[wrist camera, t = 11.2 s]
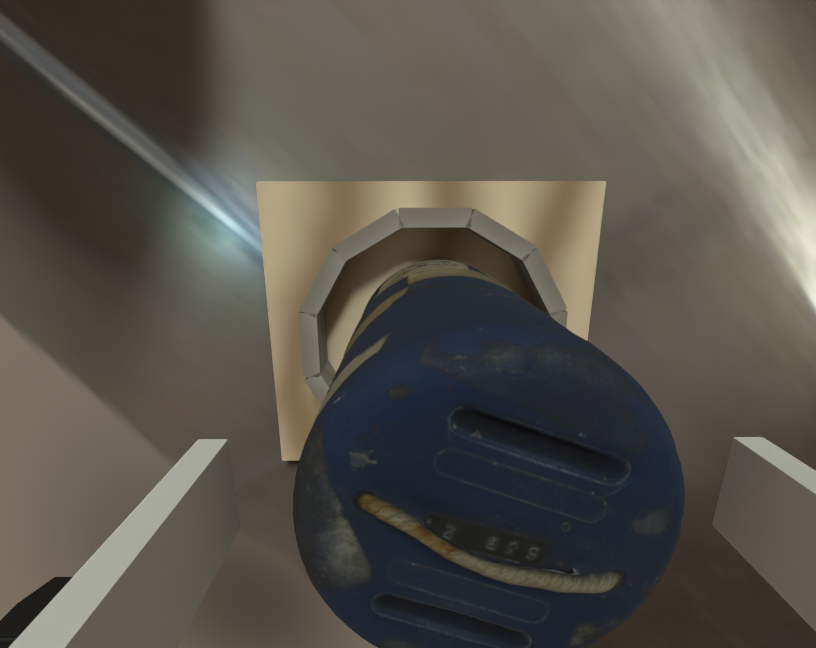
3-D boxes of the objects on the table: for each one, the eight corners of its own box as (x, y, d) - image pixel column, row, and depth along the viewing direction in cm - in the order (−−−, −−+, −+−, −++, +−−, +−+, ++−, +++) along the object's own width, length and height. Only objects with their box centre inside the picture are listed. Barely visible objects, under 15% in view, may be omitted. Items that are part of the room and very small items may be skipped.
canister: (451, 427, 27) (539, 810, 10) (330, 351, 25) (175, 642, 8) (542, 312, 25) (860, 532, 8) (417, 223, 24) (457, 243, 6)
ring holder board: (596, 182, 24) (630, 176, 21) (566, 447, 29) (590, 480, 25) (262, 183, 24) (238, 177, 20) (287, 450, 29) (270, 484, 25)
